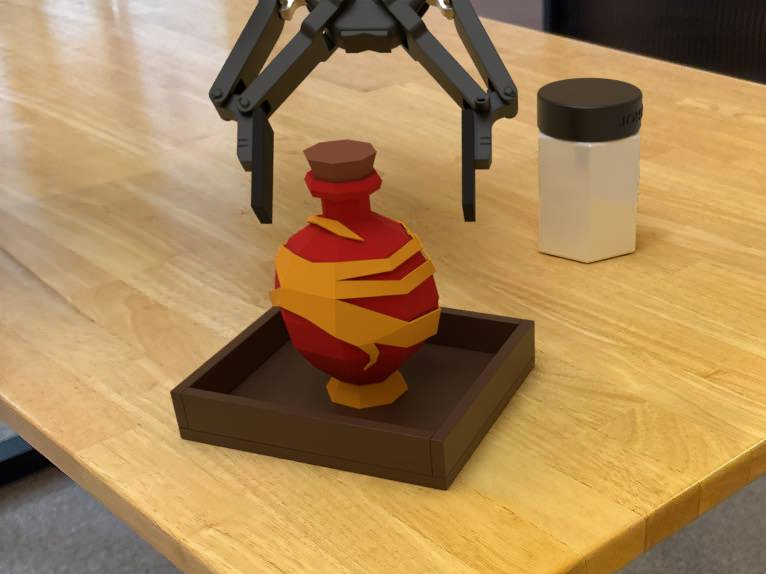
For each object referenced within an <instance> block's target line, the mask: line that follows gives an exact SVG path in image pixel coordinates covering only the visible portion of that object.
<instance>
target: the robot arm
mask: <svg viewBox="0 0 766 574" xmlns="http://www.w3.org/2000/svg"><path fill="white" fill-rule="evenodd" d="M430 6H434V7H437V8H438V10H439V12H440V13H441V15H442V16H443V17H445V18H446V19H447V20H448V21H453V23H454V27H455V30H456V33H457V34H458V37H459V39H460V40H461V42H462V44H463V46H464V48H465V50H466V51H467V53H468V55H469V57H470V59H471V61H472V63H473V65H474V67H475V68H476V70H477V72H478V74H479V76H480V77H481V79H482V81H483V83H484V85H485V87H486V91H485V90H484V89H483V88H482V87H481V86H480V84H479V83H478V82H477V81H476V80H475V79H474V78H473V77H472V76H471V74H469V72H468V71H467V70H466V69H465V68H464V66H462V65H461V63H460V62H458V60H456V58H455V57H454V56H453V55H452V54H451V52H450V51H448V50H447V48H446V47H445V46H444V45H443V44H442V43H441V42H440V41H439V40H438V39H437V37H436V36H435V35H434V34H433V33H432V32H431V31H430V30H429V29H428V27H427V25H426V23H425V21H424V20H423V19H422V18H423V17H425V15H426V13H427V12H428V10H429V9H430ZM301 7H306V10H307V11H308V14H307V15H306V17H305V18H304V19H303V20H302V22H301V24H300V28H299V30H298V32H296V34H295V35H294V36H293V37H292V38H291V39H290V40H289V41H288V42H287V44H285V45H284V46H283V48H282V49H281V50H280V51H279V52H278V53H277V55H275V57H274V58H273V59H272V60H271V61H270V62H269V64H267V65H266V67H265V68H264V66H265V64H266V63H267V61H268V59H269V57H270V56H271V54H272V52H273V50H274V48H275V47H276V44H277V42H278V41H279V39H280V37H281V35H282V33H283V30H284V27H285V22H286V21H287V22H291V21H292V20H293V16H294V15H295V13H296V11H297V9H299V8H301ZM398 47H401V48H402V49H403V50H404V51H405V52H406V53H407V55H409V56H410V58H411V59H412V60H413V61H414V62H418V63H419V65H421V67H423V69H424V70H425V71H426V72H427V73H428V74H429V75H430V76H431V77H432V78H433V80H434V81H435V82H436V83H437V84H438V85H439V86H440V87H441V89H443V91H444V92H445V93H446V94H447V95H448V96H449V97H450V99H452V100H453V101H454V103H455V104H456V105H457V106H458V108H459V109H461V111H460V112H461V119H460V121H461V208H462V209H461V210H462V214H463V221H464V223H476V222H477V221H476V220H477V219H476V218H477V217H476V216H477V215H476V211H477V210H476V209H477V207H476V205H477V204H476V202H477V201H476V199H477V198H476V170H478V171H481V170H486V171H488V170H489V171H490V168H491V167H492V164H493V127H494V124H495V123H496V122H497V121H499V120H501V119H504V118H505V119H508V120H511V119H515V118H516V117H517V115H518V113H519V90H518V87H517V86H516V84H515V82H514V80H513V78H512V76H511V75H510V73H509V71H508V69H507V67H506V65H505V63H504V62H503V60H502V58H501V56H500V54H499V52H498V51H497V49H496V47H495V45H494V43H493V41H492V40H491V38H490V36H489V34H488V32H487V31H486V29H485V27H484V25H483V23H482V21H481V20H480V18H479V16H478V14H477V12H476V10H475V9H474V7H473V5H472V3H471V1H470V0H258V1H257V4H256V6H255V8H254V10H253V11H252V13H251V15H250V16H249V18H248V20H247V22H246V24H245V25H244V27H243V29H242V31H241V32H240V35H239V36H238V38H237V40H236V42H235V44H234V45H233V47H232V49H231V51H230V52H229V54H228V56H227V58H226V60H225V61H224V63H223V65H222V67H221V69H220V70H219V72H218V74H217V76H216V78H215V80H214V81H213V83H212V85H211V87H210V89H209V91H208V98H209V100H210V102H211V104H212V105H213V107H214V109H215V111H216V112H217V114H218V116H219V117H220V119H221V120H222V121H224V122H231V121H233V122H236V125H237V126H236V127H237V128H236V156H237V159H238V161H239V164H240V165H241V167H242V168H243V170H244V172H246V173H249V172H251V173H250V176H251V177H250V179H251V180H250V208H251V210H252V211H253V213H254V214H255V216H256V217H257V220H258V221H259V223H260V224H261V225H272V224H273V214H274V213H273V211H274V207H273V206H274V162H275V161H274V160H275V159H274V158H275V157H274V155H275V153H274V152H275V131H274V129H273V126H272V125H271V123H270V121H269V119H270V118H272V116H273V115H274V113H276V111H277V110H279V108H280V107H281V106H282V105H283V104H284V103H285V102H286V100H288V98H289V97H290V96H292V94H293V93H294V92H295V91H296V90H297V89H298V87H299V86H300V85H301V84H302V83H303V82H304V80H306V78H308V76H309V75H310V74H311V73H312V72H313V71H314V70H315V69H316V67H318V65H319V64H320V63H326V62H327V61H328V60H329V59H330V58H331V57H332V55H334V53H336V51H337V50H339V49H341V50H344V51H345V54H360V53H364V52H368V51H370V52H373V53H374V52H375V53H378V54H392V52H393V51H392V50H394V49H396V48H398Z"/></svg>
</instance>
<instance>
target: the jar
mask: <svg viewBox="0 0 766 574" xmlns="http://www.w3.org/2000/svg"><path fill="white" fill-rule="evenodd" d="M643 96H644V95H643V91H642V89H640V87H638V86H637V85H634V84H633V83H630V82H626V81H624V80H620V79H619V80H618V79H614V78H613V79H612V78H603V77H575V78H564V79H560V80H555V81H552V82H549V83H546V84H544V85H543V86H541V87H540V88H538V90H537V92H536V126H537V129H538V133H537V149H538V150H537V156H538V157H537V160H538V164H537V165H538V166H537V169H538V171H537V173H538V174H537V175H538V177H537V178H538V179H537V180H538V251H539V252H540V253H542V254H546V255H551V256H555V257H560V258H564V259H567V260H572V261H576V262H581V263H584V264H585V263H586V264H589V263H590V264H591V263H595V262H598V261H603V260H607V259H610V258H615V257H619V256H623V255H627V254H633V253H634V252H635V251H636V242H637V241H636V240H637V222H638V203H639V196H640V192H639V191H640V184H641V183H640V181H641V180H640V179H641V166H640V162H641V161H640V160H641V144H642V136H641V131H640V129H641V128H642V118H643V116H644V115H643V114H644V113H643V112H644V103H643Z"/></svg>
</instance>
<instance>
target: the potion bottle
mask: <svg viewBox="0 0 766 574" xmlns="http://www.w3.org/2000/svg"><path fill="white" fill-rule="evenodd" d="M302 152H303V155H304V156H305V158H306V162H307V163H308V165H309V167H310V170H309V171H307V172H306V173H305V176H304V178H303V181H304V184H305V185H306V187H307V189H308V191H309V193H310V195H311V197H312V198H314V199H315V198H316V199H320V204H321V212H317V213H315V214H313V215H311V216H309V217H308V218H306V219H305V222H307V223H308V224H307V225H305V226H304V227H302V228H300V229H299V230H298V231H297V232H295V233H294V234H292V235H291V236H290V237H288V240H287V241H285V242H283V243H281V244H280V245H279V247H278V250H277V253H276V254H275V255H276V256H275V258H274V261H273V264H274V267H275V269H274V289H272V290H269V291H268V295H269V297H270V302H271V305H272V306H271V307H273V306H279V308H280V311H281V313H282V316H283V319H284V322H285V324H286V327H287V330H288V332H289V335H290V338H291V340H292V343H293V346H294V348H295V349H296V350H297V351H298V352H299V353H300V354H301V355H302V356H303V357H304V358H305V359H306V360H307V361H308V362H309V363H311V364H312V365H313V366H314V367H315V368H317V369H319V370H321V371H323V372H324V373H326V374H328V375H330V376H331V377H332V378H331V379H330V381H329V382H328V384H327V386H326V388H327V390H328V393H329V395H330V398H331V401H332V402H335V403H339V404H343V405H346V406H350V407H354V408H358V409H362V408H367V407H373V406H379V405H384V404H390V403H392V402H394V401H395V400H396V399H397V398H398V397H399V396H400V395H402V394H403V393H404V392H405V391H406V390H407V389H409V388H408V386H407V384H406V382H405V380H404V378H403V376H402V374H401V373H400V372H399V371H398V369H399V368H400V367H401V366H402V365H403V364H404V363H405V362H406V361H407V360H408V359H410V358H411V357H412V356H413V355H414V354H415V353H416V352H417V351H418V350H419V349H420V348H421V346H422V345H423V343H424V342H425V340H426V339H427V338H429V337H431V336H432V335H434V334H436V333H437V329H438V324H439V318H440V312H441V308H440V307H441V305H440V304H439V301H440V295H439V291H438V287H437V283H436V281H435V276H434V274H435V273H436V272H437V269H436V267H435V265H434V263H433V261H432V259H431V257H430V255H429V254H428V251H426V248H425V247H424V245H423V243H422V242H421V240H420V238H419V237H418V235H417V233H413V232H412V231H411V230H410V229H409V227H408V226H407V225H406V223H404V221H401V220H397V219H393V218H389V217H387V216H385V215H383V214H380V213H379V212H376V211H374V210H372V207H371V198H370V196H371V195H372V194H374V193H376V192H378V191H379V190H381V188H382V184H383V179H382V177H381V176H380V175H379V173H378V171H377V170H376V169H375V167H374V165H375V161H376V156H377V150H376V148H375V147H374V145H373V144H372V143H371V142H367V141H361V140H355V139H349V138H348V139H347V138H345V139H337V140H328V141H327V140H326V141H320V142H316V143H315V144H313V145H311V146H309V147H307V148H305V149H303V150H302ZM421 250H422V251H421ZM422 252H423V253H422Z"/></svg>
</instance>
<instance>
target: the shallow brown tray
mask: <svg viewBox="0 0 766 574" xmlns="http://www.w3.org/2000/svg"><path fill="white" fill-rule="evenodd" d="M440 308H441V312H440V318H439V324H438V329H437V333H436V334H434V335H432V336H431V337H429V338H427V339H426V340H425V342H424V343H423V345H422V346H421V348H420V349H419V350H418V351H417V352H416V353H415V354H414V355H413V356H412V357H411V358H410V359H408V360H407V361H406V362H405V363H404V364H403V365H402V366H401V367H400V368H399V369H398V371H399V372H400V373H401V374H402V376H403V378H404V380H405V382H406V384H407V386H408V388H409V389H407V390H406V391H405V392H404V393H403V394H402V395H400V396H399V397H398V398H397V399H396V400H395V401H394V402H392V403H390V404H384V405H379V406H373V407H367V408H362V409H358V408H354V407H350V406H346V405H343V404H339V403H335V402H332V401H331V398H330V395H329V393H328V390H327V388H326V386H327V384H328V382H329V381H330V379H331V378H332V377H331V376H330V375H328V374H326V373H324V372H323V371H321V370H319V369H317V368H315V367H314V366H313V365H312V364H311V363H309V362H308V361H307V360H306V359H305V358H304V357H303V356H302V355H301V354H300V353H299V352H298V351H297V350H296V349H295V348H294V346H293V343H292V340H291V338H290V335H289V332H288V330H287V327H286V324H285V322H284V319H283V316H282V313H281V311H280V308H279V306H271V307H270V308H269V309H268V310H266V311H265V312H264V313H263V314H262V315H260V316H259V317H257V319H255V320H254V321H253V322H252V323H250V324H249V325H248V326H247V327H245V328H244V329H243V330H242V331H241V332H240V333H239V334H237V336H235V337H234V338H233V339H231V340H230V341H229V342H227V344H225V345H224V346H223V347H221V348H220V349H219V350H218V351H217V352H216V353H214V354H213V355H212V356H211V357H210V358H208V360H206V361H205V362H203V363H202V364H201V365H200V366H199V367H197V368H196V369H195V370H194V371H193V372H192V373H190V374H189V375H188V376H186V377H185V379H183V380H182V381H181V382H179V383H178V384H177V385H176V386H174V387H173V388H172V389H171V390H170V391H169V395H170V398H171V403H172V406H173V410H174V415H175V419H176V422H177V427H178V431H179V435H180V438H181V439H184V440H190V441H194V442H199V443H203V444H210V445H213V446H218V447H219V446H220V447H224V448H229V449H235V450H239V451H245V452H250V453H255V454H261V455H265V456H270V457H276V458H280V459H286V460H291V461H295V462H296V461H297V462H300V463H305V464H311V465H316V466H321V467H327V468H332V469H336V470H341V471H346V472H352V473H356V474H362V475H367V476H372V477H377V478H382V479H387V480H393V481H397V482H402V483H408V484H413V485H418V486H422V487H423V486H424V487H428V488H434V489H439V490H442V491H443V490H445V491H447V490H448V488H449V487H450V486H451V484H452V483H453V481H454V480H455V479H456V477H457V475H458V474H459V473H460V472H461V470H462V468H463V467H464V466H465V464H466V463H467V461H469V459H470V457H471V456H472V454H473V453H474V451H475V450H476V449H477V447H478V446H479V444H481V442H482V440H483V439H484V437H485V436H486V435H487V433H488V432H489V431H490V429H491V428H492V426H493V425H494V423H495V422H496V421H497V419H498V418H499V416H500V415H501V414H502V412H503V411H504V409H505V408H506V407H507V406H508V404H509V402H510V401H511V399H512V398H513V397H514V395H515V394H516V392H517V391H518V389H519V388H520V387H521V385H522V384H523V383H524V381H525V380H526V378H527V377H528V375H529V374H530V372H531V371H532V369H534V367H535V365H536V340H535V339H536V329H535V328H536V325H535V323H536V322H535V320H533V319H527V318H521V317H520V318H519V317H512V316H507V315H499V314H494V313H486V312H479V311H474V310H473V311H472V310H466V309H460V308H453V307H446V306H440Z"/></svg>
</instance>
